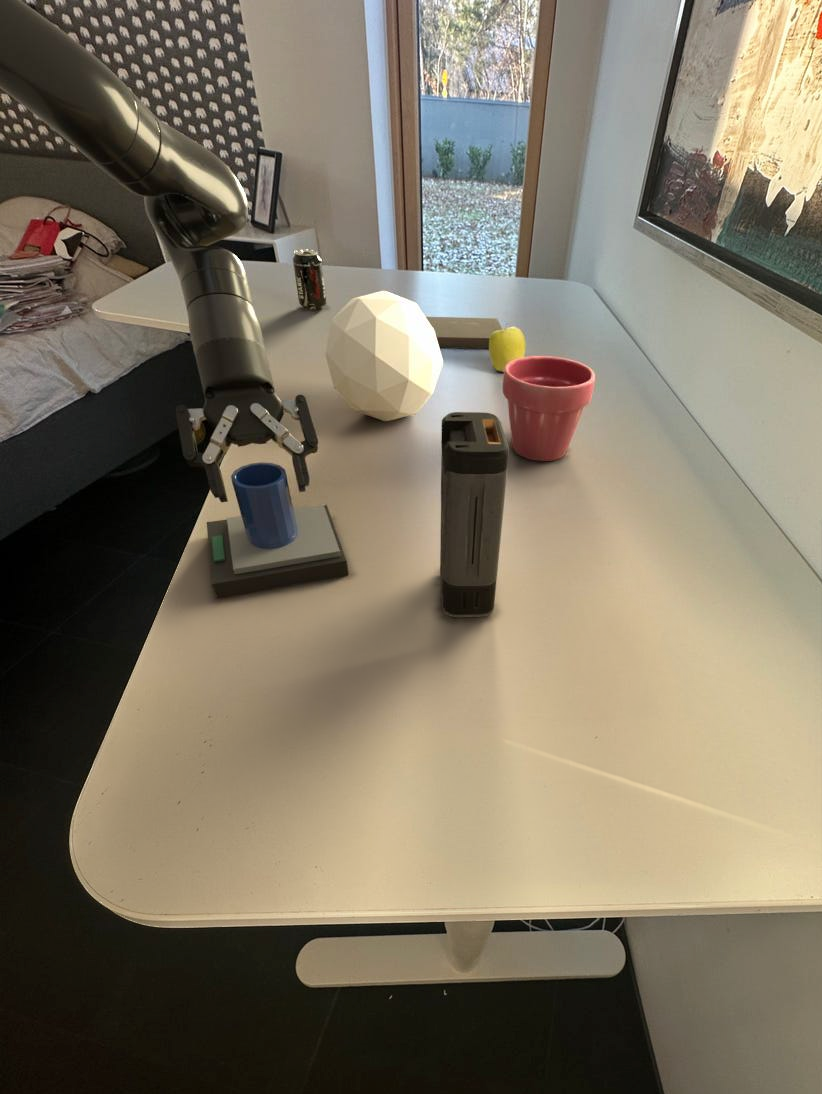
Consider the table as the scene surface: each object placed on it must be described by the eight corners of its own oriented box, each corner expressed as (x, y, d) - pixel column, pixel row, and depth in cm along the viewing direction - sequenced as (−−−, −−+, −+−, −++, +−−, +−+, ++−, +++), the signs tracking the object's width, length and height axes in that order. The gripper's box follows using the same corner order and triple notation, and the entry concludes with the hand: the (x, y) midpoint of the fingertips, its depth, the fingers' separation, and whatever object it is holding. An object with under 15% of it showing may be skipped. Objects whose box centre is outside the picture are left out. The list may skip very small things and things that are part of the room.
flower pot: (512, 424, 102) (520, 348, 93) (588, 440, 99) (603, 363, 90) (486, 458, 92) (491, 377, 83) (569, 476, 89) (584, 394, 80)
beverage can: (305, 312, 143) (297, 255, 134) (295, 305, 147) (287, 249, 138) (331, 309, 146) (324, 254, 137) (320, 302, 150) (314, 248, 141)
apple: (535, 368, 120) (527, 319, 112) (501, 383, 119) (491, 335, 112) (520, 356, 125) (511, 308, 118) (487, 370, 125) (477, 323, 117)
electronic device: (439, 569, 70) (440, 409, 56) (486, 568, 71) (499, 410, 57) (443, 620, 64) (445, 453, 50) (495, 618, 65) (512, 454, 51)
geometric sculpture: (362, 446, 107) (299, 342, 100) (450, 394, 109) (395, 289, 102) (372, 438, 90) (297, 311, 83) (477, 376, 92) (413, 246, 85)
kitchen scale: (217, 599, 64) (209, 578, 62) (211, 536, 73) (204, 516, 71) (348, 575, 69) (345, 555, 67) (328, 518, 77) (325, 499, 75)
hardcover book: (404, 326, 139) (404, 316, 137) (496, 328, 142) (497, 318, 140) (406, 348, 128) (406, 337, 126) (506, 350, 131) (507, 339, 129)
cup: (250, 552, 66) (233, 491, 60) (245, 525, 70) (229, 465, 64) (301, 544, 68) (289, 483, 62) (294, 518, 71) (282, 459, 66)
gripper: (152, 338, 58) (189, 495, 58) (295, 330, 62) (328, 476, 62) (169, 373, 65) (202, 513, 65) (296, 364, 69) (326, 495, 70)
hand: (264, 495), depth 64 cm, fingers open, 8 cm apart
